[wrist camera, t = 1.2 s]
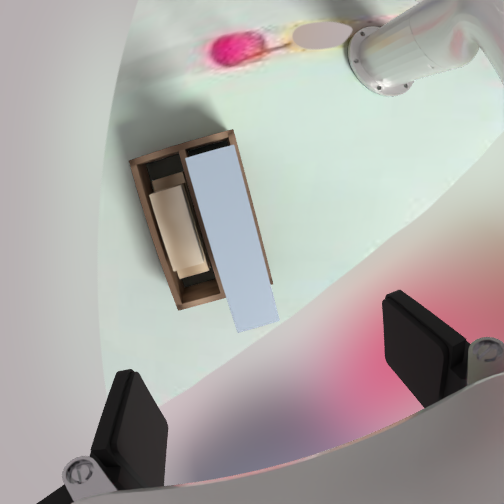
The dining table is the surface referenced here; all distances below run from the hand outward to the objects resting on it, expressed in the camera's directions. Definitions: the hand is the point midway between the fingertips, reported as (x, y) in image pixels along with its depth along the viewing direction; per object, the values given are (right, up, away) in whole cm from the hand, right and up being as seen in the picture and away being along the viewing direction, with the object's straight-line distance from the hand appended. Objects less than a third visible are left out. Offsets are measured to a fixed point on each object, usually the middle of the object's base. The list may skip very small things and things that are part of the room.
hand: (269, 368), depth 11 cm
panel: (-4, +10, +35) cm, 37 cm away
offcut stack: (-11, +8, +35) cm, 37 cm away
